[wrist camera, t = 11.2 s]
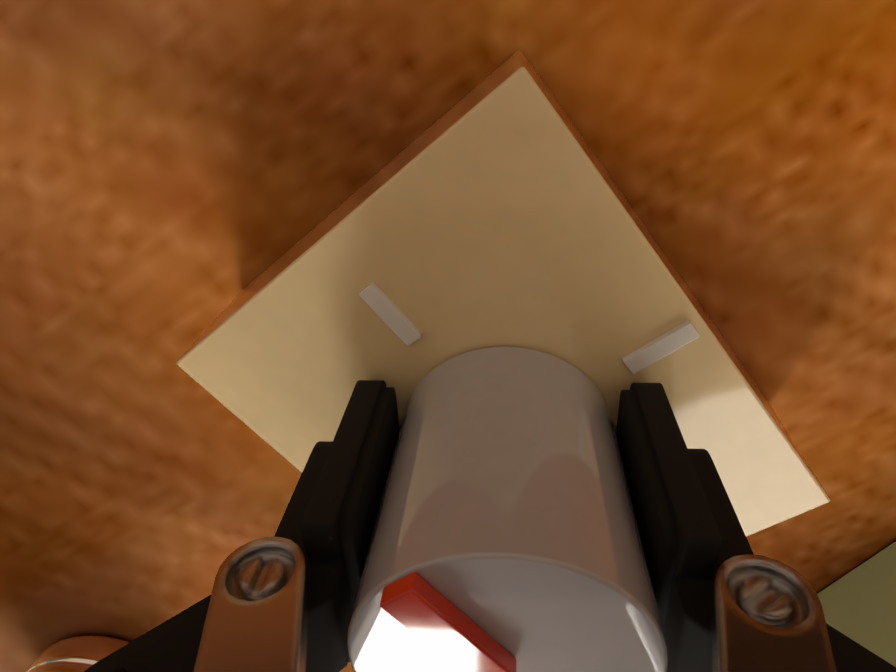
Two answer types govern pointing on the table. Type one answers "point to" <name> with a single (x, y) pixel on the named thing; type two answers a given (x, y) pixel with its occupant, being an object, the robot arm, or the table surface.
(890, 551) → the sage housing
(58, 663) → the water bottle
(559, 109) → the plate
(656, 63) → the table surface
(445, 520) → the steel knob
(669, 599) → the robot arm
